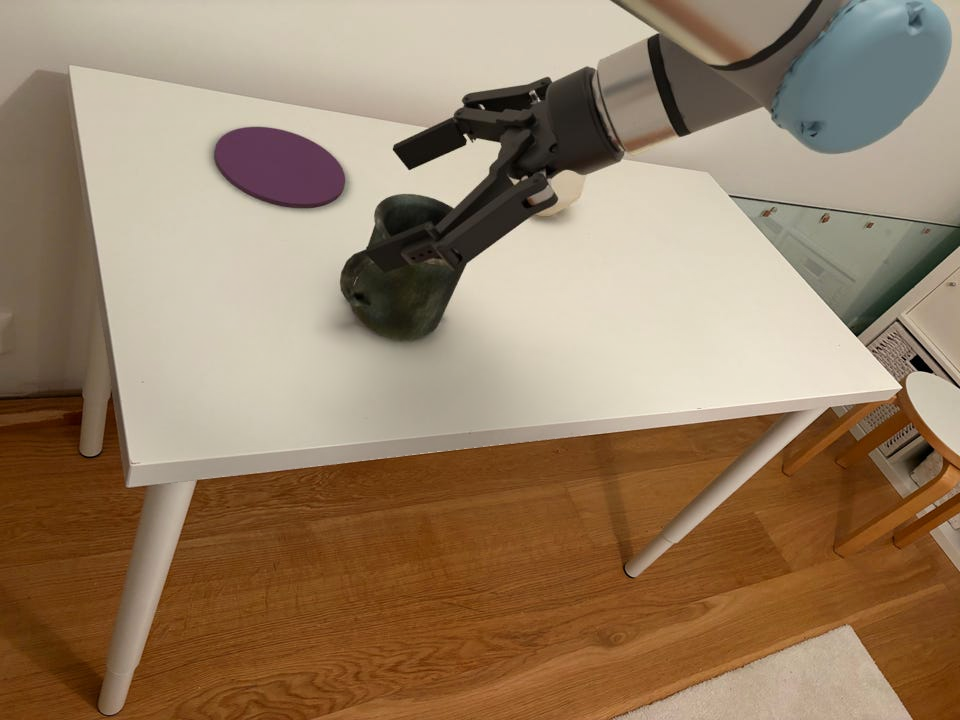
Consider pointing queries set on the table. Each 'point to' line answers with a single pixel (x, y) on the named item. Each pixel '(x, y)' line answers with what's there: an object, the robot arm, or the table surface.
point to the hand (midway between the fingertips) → (388, 205)
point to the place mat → (279, 167)
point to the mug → (401, 275)
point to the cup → (563, 190)
